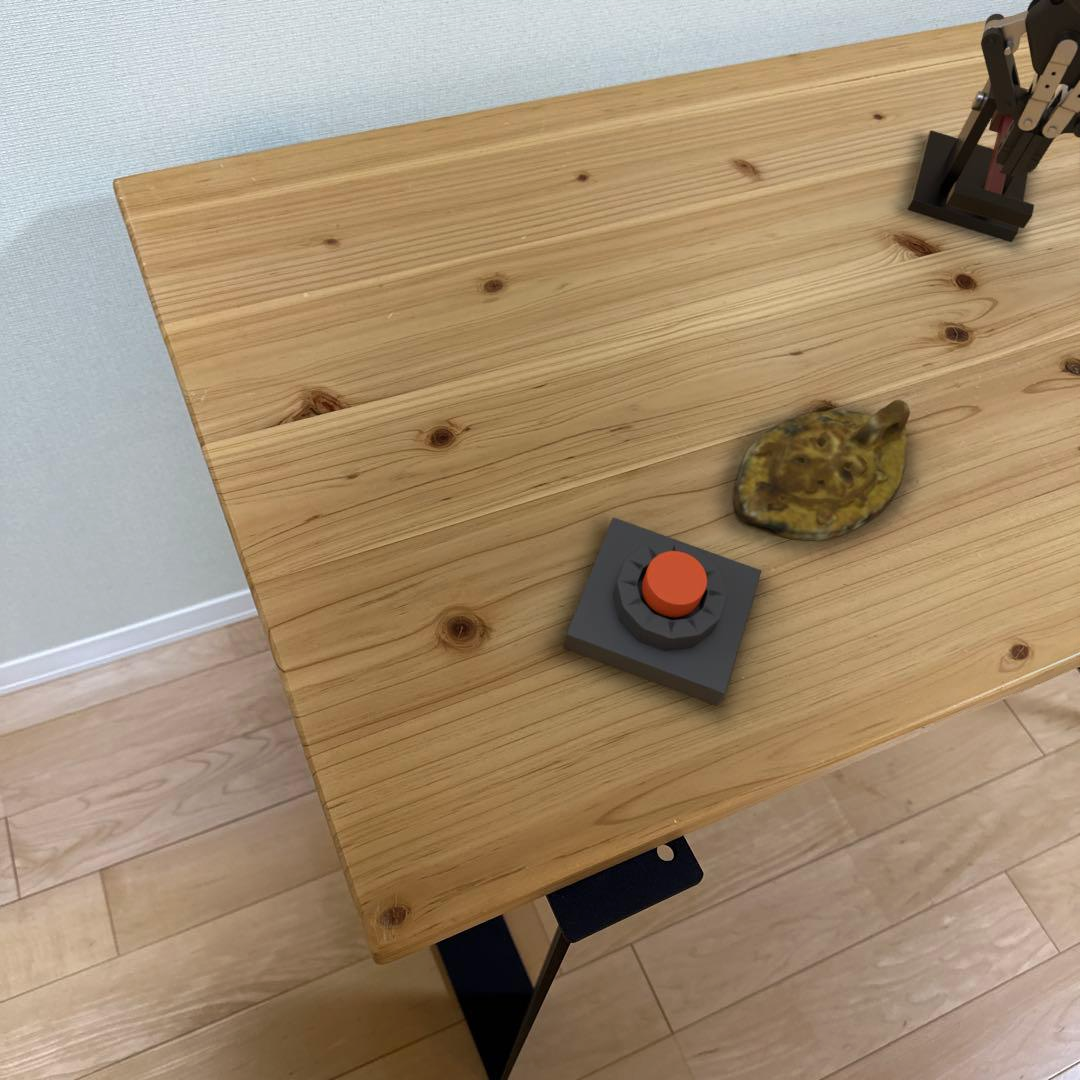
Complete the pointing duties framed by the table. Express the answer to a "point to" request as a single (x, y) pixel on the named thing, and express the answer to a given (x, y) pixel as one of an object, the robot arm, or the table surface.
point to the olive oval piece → (823, 472)
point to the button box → (662, 616)
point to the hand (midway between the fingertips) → (1010, 168)
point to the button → (674, 584)
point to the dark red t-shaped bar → (992, 188)
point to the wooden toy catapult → (962, 172)
